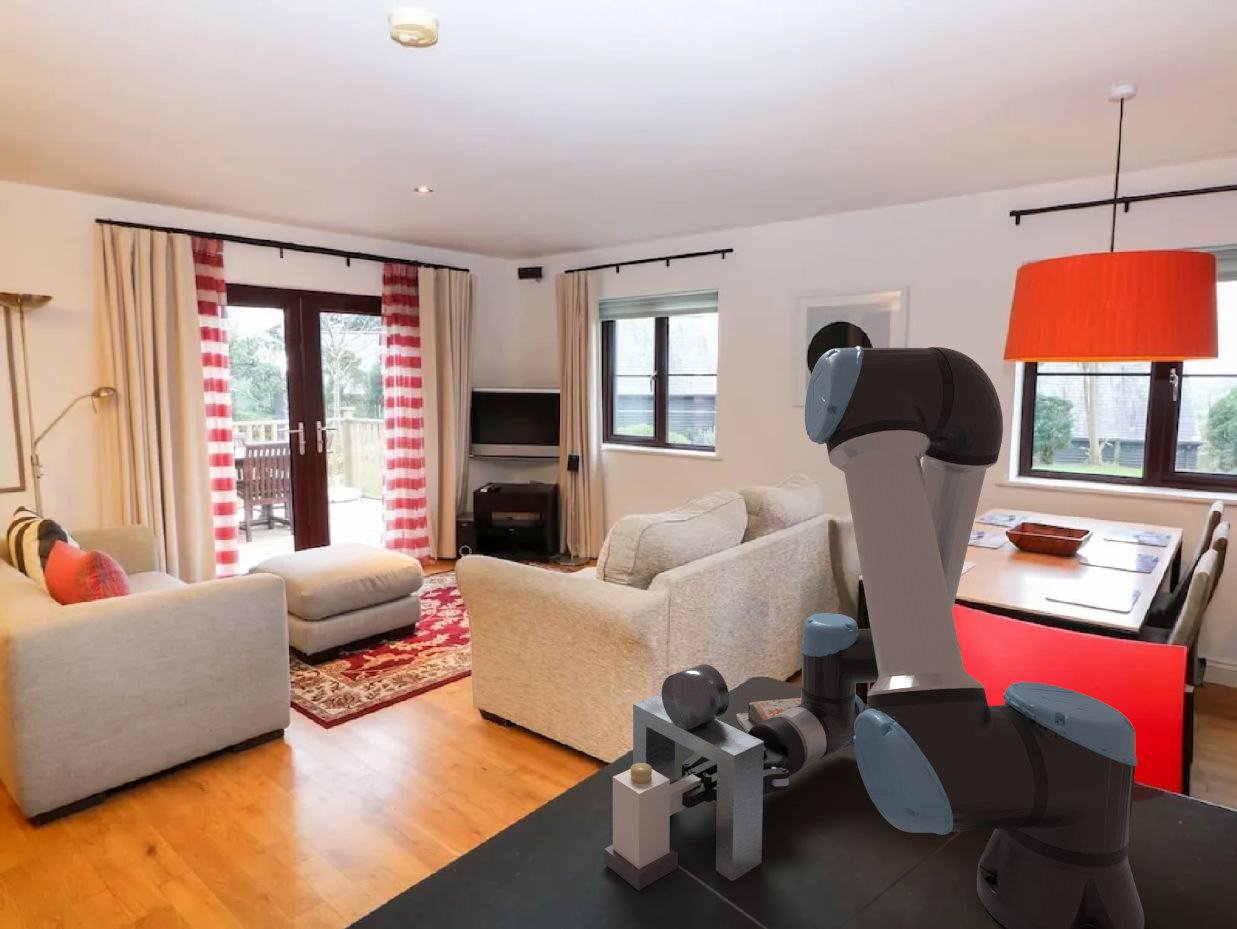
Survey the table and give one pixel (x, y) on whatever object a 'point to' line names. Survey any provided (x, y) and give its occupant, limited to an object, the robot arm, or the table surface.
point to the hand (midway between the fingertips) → (657, 806)
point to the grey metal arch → (737, 754)
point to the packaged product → (764, 711)
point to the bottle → (641, 827)
